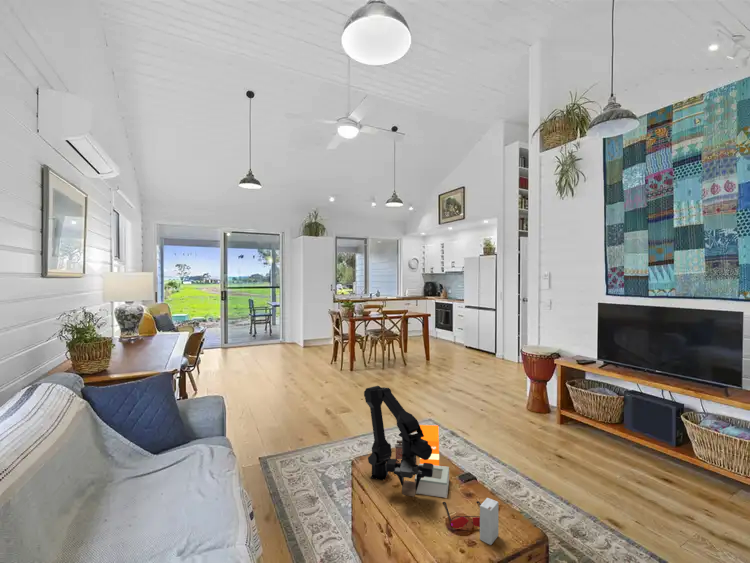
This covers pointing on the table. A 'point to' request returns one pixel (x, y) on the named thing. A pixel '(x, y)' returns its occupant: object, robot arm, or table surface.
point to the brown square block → (409, 488)
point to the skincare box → (489, 521)
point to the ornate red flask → (398, 449)
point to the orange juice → (431, 443)
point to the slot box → (435, 482)
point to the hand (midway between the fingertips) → (409, 488)
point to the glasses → (463, 519)
